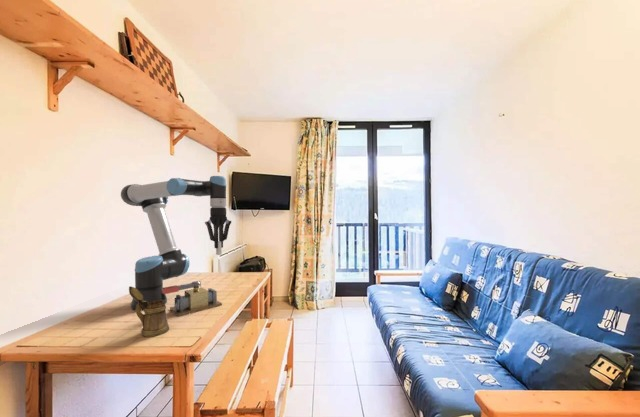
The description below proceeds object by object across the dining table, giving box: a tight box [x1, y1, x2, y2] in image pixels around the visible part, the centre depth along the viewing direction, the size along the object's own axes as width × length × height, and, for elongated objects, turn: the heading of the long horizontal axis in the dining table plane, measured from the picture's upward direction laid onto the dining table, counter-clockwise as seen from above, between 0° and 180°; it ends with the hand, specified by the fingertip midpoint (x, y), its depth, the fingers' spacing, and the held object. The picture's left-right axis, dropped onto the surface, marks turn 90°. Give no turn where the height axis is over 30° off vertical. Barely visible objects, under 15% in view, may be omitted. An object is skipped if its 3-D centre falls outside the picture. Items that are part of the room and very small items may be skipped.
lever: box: [162, 280, 202, 295], centre depth 128 cm, size 16×4×2 cm, turn 137°
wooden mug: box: [128, 286, 170, 338], centre depth 106 cm, size 9×14×18 cm, turn 102°
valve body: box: [169, 286, 223, 317], centre depth 132 cm, size 12×20×10 cm, turn 134°
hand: (218, 254), depth 137 cm, fingers closed
